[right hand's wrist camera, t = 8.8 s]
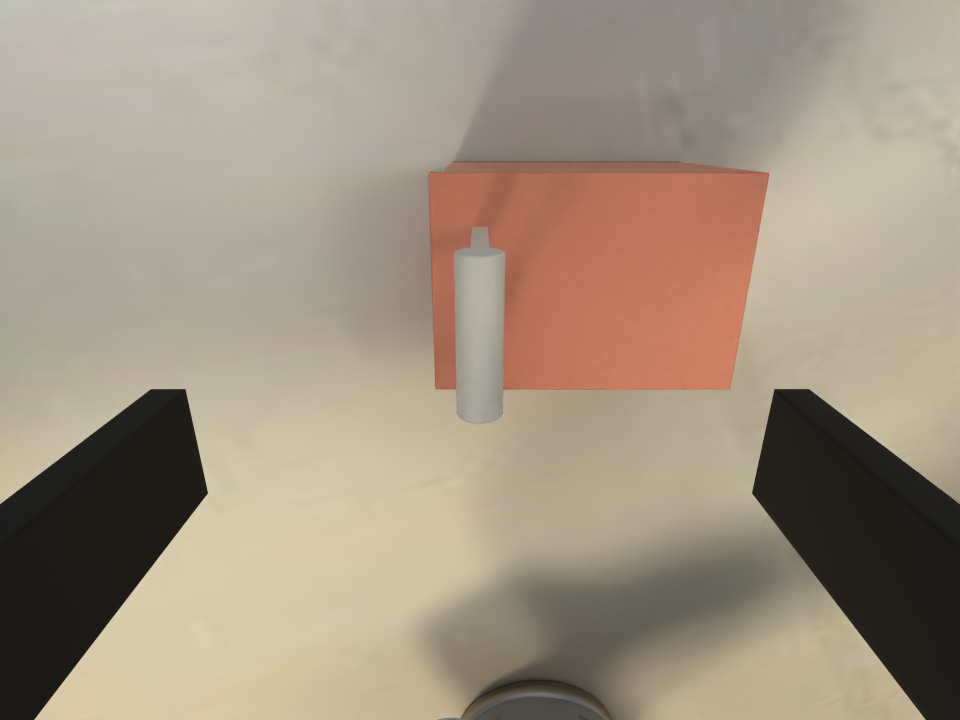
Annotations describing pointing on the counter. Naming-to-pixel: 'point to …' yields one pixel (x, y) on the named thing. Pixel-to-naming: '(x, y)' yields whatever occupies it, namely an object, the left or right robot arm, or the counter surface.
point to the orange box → (588, 280)
